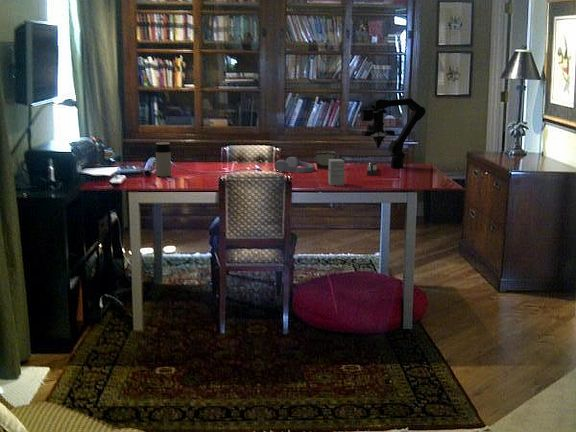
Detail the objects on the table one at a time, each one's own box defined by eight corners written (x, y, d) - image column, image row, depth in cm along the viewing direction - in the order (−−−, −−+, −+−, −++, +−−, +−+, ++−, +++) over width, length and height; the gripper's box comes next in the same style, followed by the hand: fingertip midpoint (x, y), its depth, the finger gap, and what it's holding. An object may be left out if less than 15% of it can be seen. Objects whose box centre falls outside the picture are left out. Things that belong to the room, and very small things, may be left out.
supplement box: (327, 183, 410) (328, 159, 408) (342, 183, 411) (342, 158, 409) (329, 185, 403) (330, 160, 401) (344, 185, 404) (344, 160, 401)
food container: (336, 167, 466) (336, 150, 464) (335, 169, 460) (336, 152, 458) (315, 167, 467) (315, 150, 465) (314, 169, 461) (314, 151, 459)
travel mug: (168, 177, 429) (167, 143, 425) (154, 176, 430) (153, 143, 427) (173, 175, 437) (172, 142, 433) (159, 174, 438) (158, 141, 435)
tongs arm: (372, 168, 460) (372, 164, 460) (376, 168, 460) (376, 164, 459) (372, 174, 437) (372, 170, 436) (376, 175, 436) (376, 170, 436)
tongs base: (367, 168, 465) (367, 162, 464) (375, 168, 465) (375, 162, 464) (367, 175, 438) (367, 168, 437) (375, 175, 437) (375, 169, 436)
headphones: (272, 172, 450) (305, 176, 443) (273, 159, 448) (306, 163, 441) (287, 167, 470) (319, 171, 463) (288, 155, 468) (320, 159, 461)
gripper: (387, 119, 469) (387, 145, 472) (358, 120, 464) (357, 147, 467) (395, 120, 458) (395, 148, 462) (365, 121, 453) (365, 149, 456)
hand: (378, 148), depth 462 cm, fingers closed
